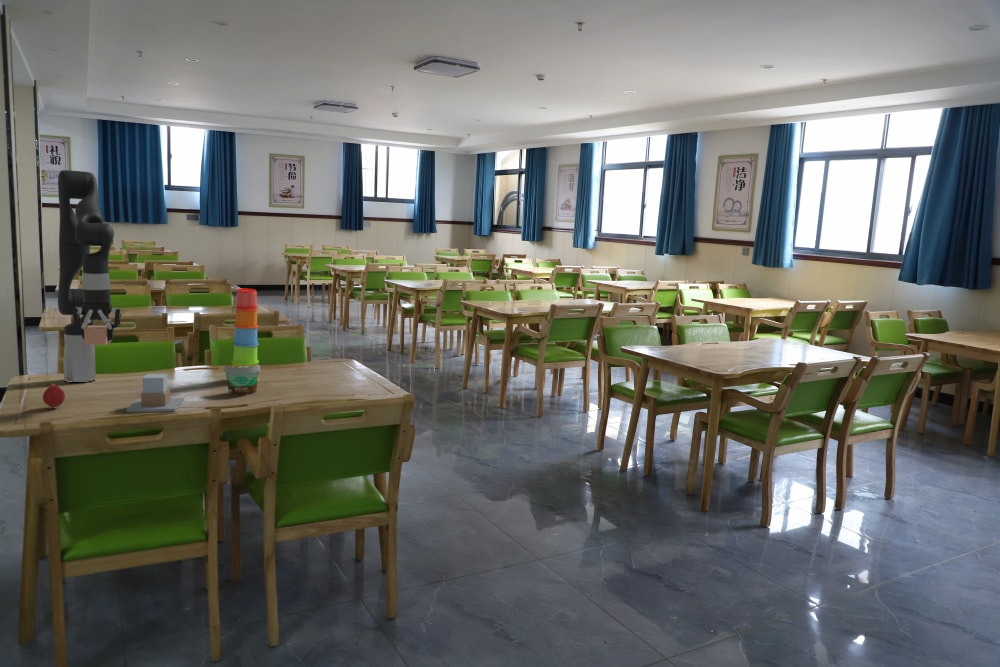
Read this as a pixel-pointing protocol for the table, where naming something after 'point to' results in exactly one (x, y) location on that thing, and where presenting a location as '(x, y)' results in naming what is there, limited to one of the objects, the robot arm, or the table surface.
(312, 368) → the table surface
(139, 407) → the tower base
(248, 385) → the food container
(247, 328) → the stacking cups
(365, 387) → the table surface
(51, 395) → the onion
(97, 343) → the brick
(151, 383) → the brick
